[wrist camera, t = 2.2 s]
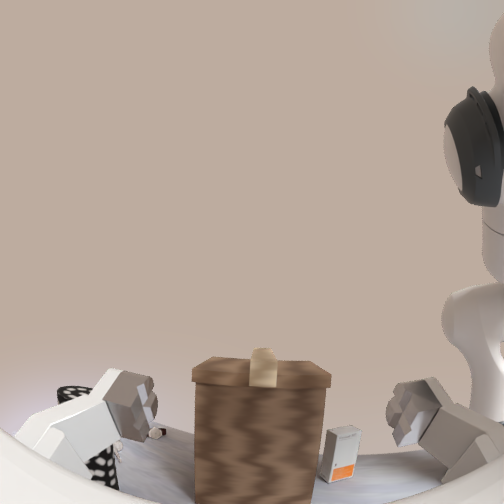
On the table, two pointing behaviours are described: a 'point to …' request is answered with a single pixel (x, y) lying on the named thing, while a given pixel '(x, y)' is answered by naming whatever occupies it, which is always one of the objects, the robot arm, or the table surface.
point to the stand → (257, 432)
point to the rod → (263, 368)
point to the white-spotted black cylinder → (103, 461)
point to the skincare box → (340, 453)
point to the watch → (156, 432)
